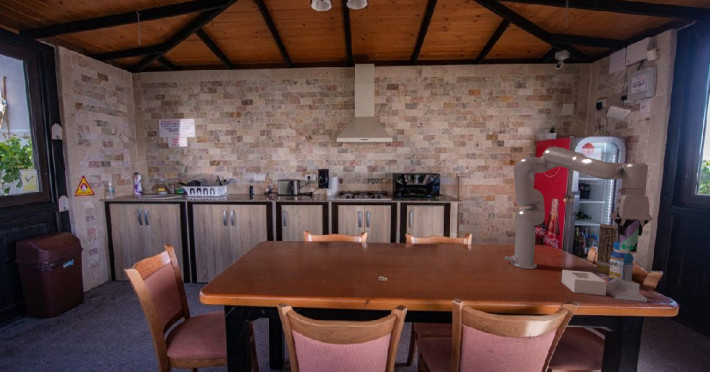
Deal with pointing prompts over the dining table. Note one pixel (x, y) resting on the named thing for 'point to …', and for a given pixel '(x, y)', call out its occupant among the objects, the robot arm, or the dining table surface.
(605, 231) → the wooden log
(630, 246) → the spray can
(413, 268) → the dining table surface
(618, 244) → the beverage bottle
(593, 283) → the bore block
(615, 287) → the v-block
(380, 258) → the dining table surface
